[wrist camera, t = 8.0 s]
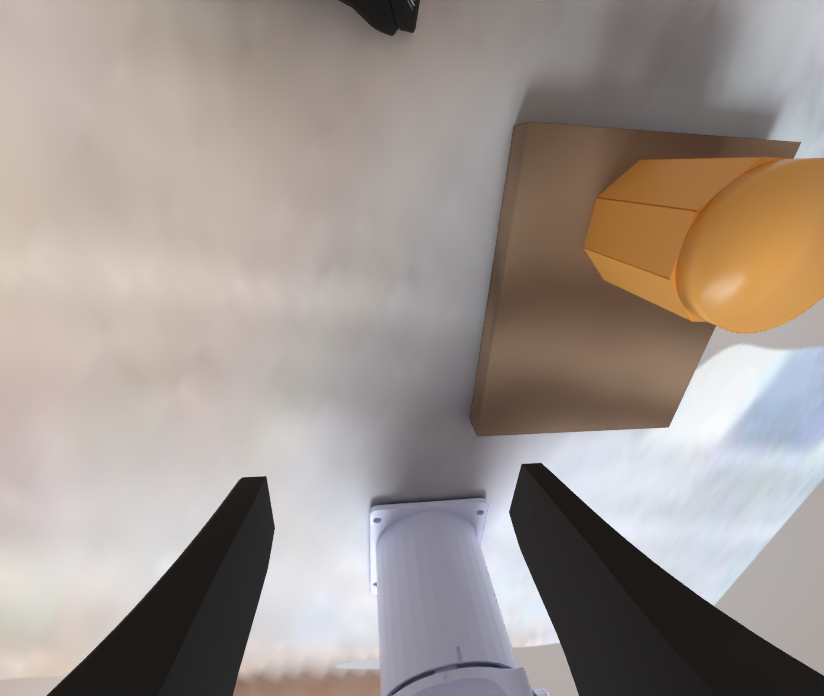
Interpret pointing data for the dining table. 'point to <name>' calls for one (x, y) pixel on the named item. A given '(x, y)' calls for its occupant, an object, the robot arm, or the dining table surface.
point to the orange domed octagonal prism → (715, 238)
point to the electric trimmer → (387, 14)
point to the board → (581, 292)
